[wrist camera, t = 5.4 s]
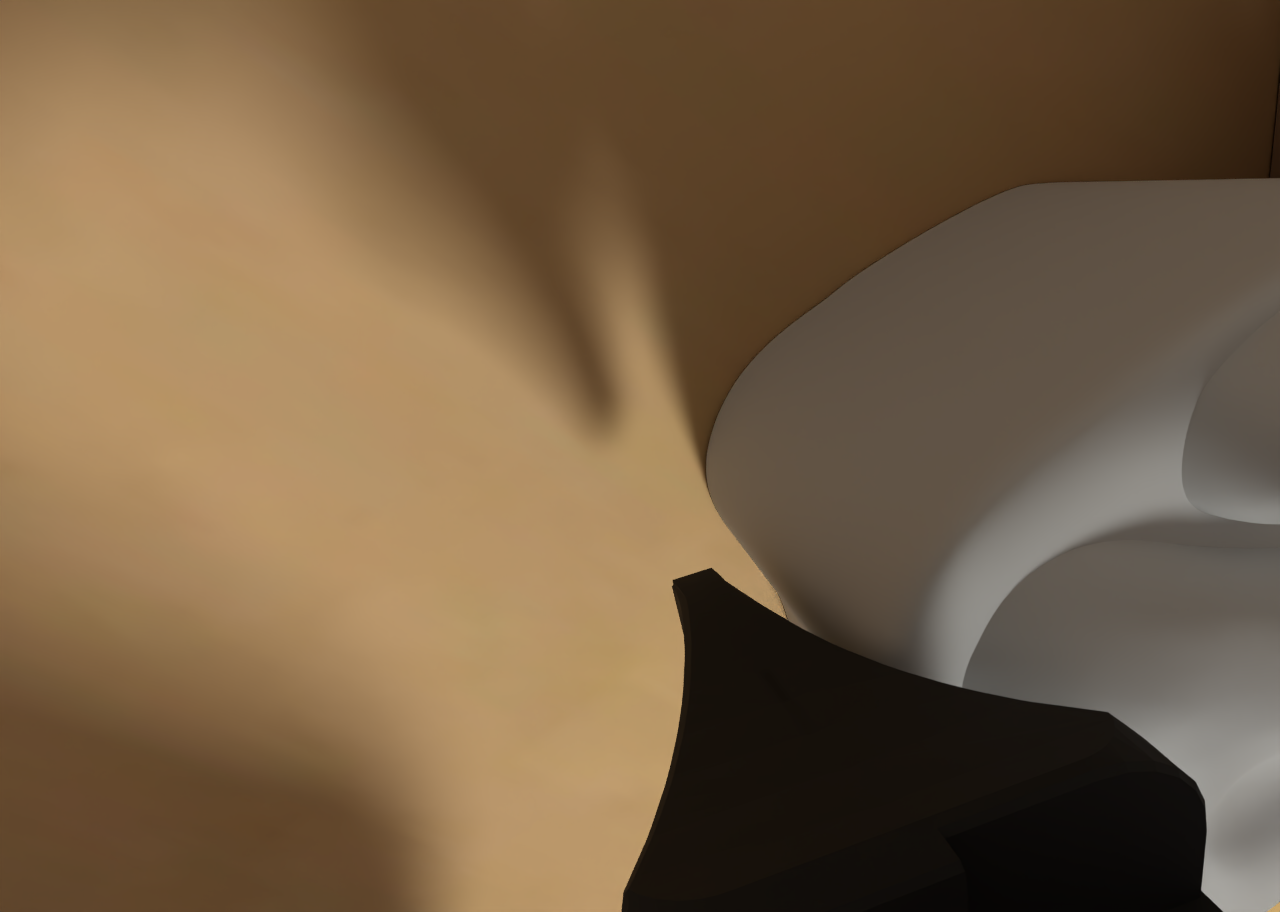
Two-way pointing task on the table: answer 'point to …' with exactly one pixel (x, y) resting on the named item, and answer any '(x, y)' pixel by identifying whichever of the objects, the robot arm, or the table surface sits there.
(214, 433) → the table surface
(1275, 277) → the lumpy-topped squat cylinder
